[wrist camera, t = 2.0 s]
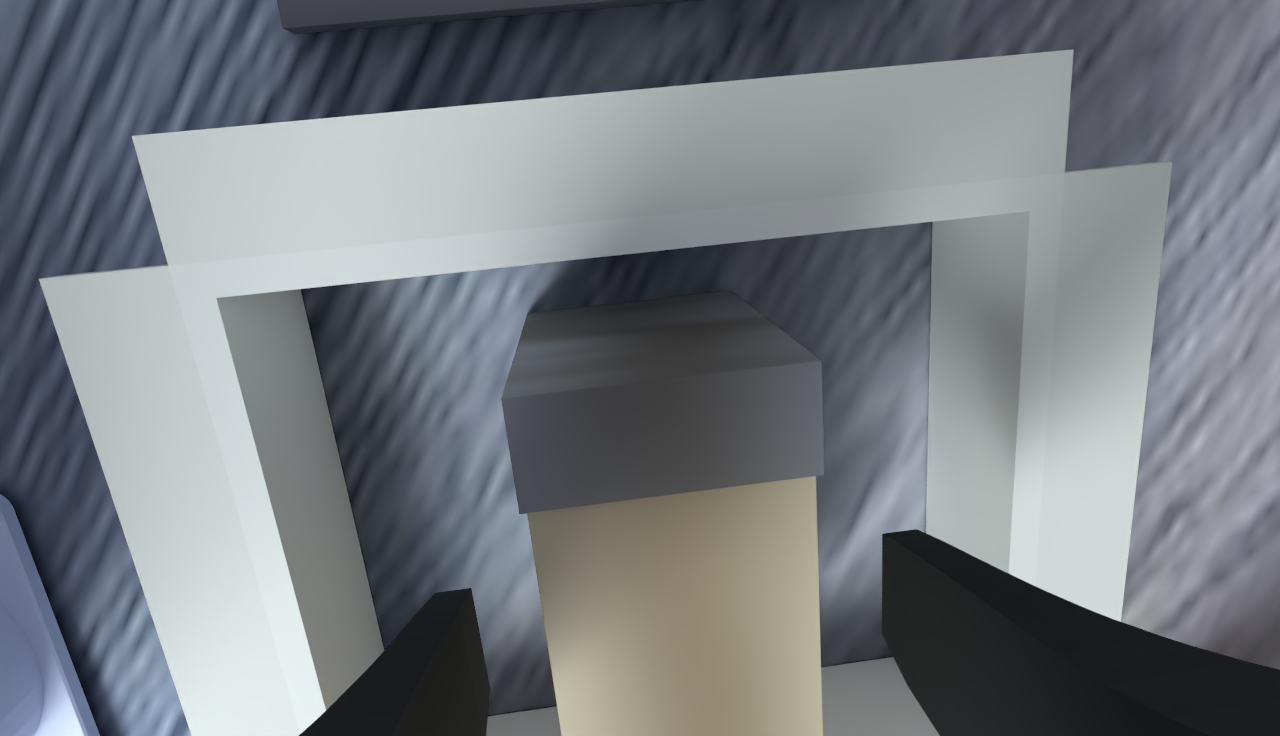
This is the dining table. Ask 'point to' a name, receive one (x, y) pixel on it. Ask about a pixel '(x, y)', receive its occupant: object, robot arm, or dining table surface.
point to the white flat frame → (588, 228)
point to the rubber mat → (421, 11)
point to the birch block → (672, 515)
